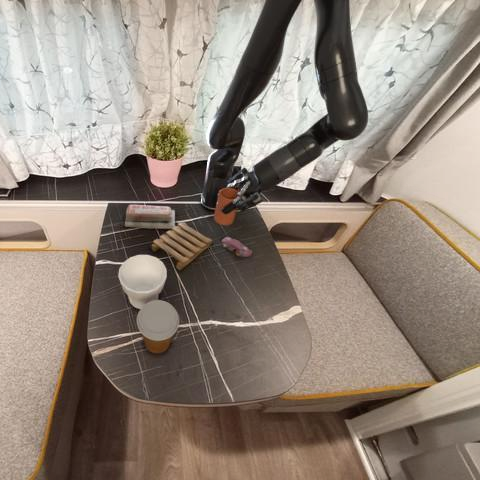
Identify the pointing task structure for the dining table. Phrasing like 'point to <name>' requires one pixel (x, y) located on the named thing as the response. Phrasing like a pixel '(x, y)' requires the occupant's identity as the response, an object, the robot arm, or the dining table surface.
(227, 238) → the pink oblong lump
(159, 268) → the cup
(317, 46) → the robot arm
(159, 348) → the disposable coffee cup
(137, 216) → the packaged product
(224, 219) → the tumbler
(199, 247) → the wooden slatted trivet
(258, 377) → the dining table surface
